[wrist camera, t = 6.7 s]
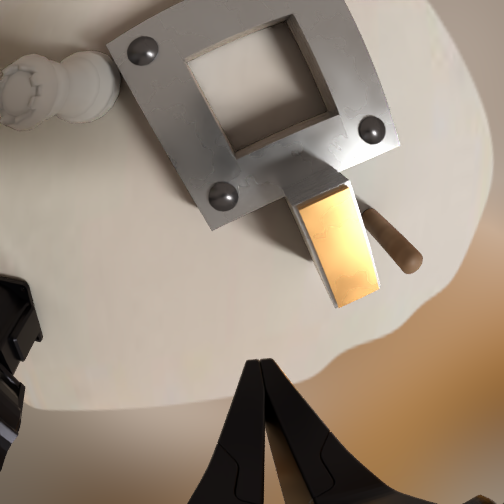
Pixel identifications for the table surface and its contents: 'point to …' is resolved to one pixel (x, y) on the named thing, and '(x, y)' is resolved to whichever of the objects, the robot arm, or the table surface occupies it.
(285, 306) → the table surface
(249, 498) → the robot arm
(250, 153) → the grey bolted fixture plate
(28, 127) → the rook chess piece
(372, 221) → the dowel
